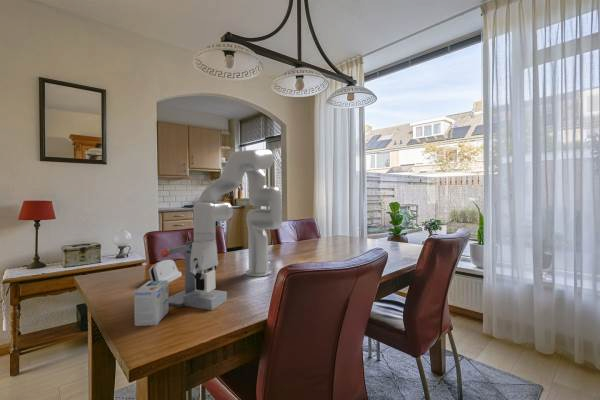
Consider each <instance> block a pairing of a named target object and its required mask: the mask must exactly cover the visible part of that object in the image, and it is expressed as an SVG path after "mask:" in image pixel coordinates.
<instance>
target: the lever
mask: <svg viewBox="0 0 600 400" xmlns="http://www.w3.org/2000/svg"><path fill="white" fill-rule="evenodd" d="M192 243H193V242H192ZM192 243H191V244H186V243H185V244H183V245H179V246H175V247H171V248H166V247H165V248H162V249H160V251H159V256H160V257H162V258H167V257H169V256H171V255H174V254H175V255H176V254H178V253H182V252H183V253H184V252H186V250H190V249H191V248H192Z"/></svg>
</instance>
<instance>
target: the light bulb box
mask: <svg viewBox="0 0 600 400" xmlns="http://www.w3.org/2000/svg"><path fill="white" fill-rule="evenodd" d="M133 296H134V298H133V299H134V300H133V301H134V302H133V303H134V309H133V310H134V326H135V327H138V326H139V327H141V326H147V327H148V325H149V326H157V325H158V324H159V323H160V322H161V321H162V319H163V318H164V317H165V316H166V315H167V314H168V313H169V306H170V305H168V297H169V283H168V280H162V281H151V280H148V281H146V282H145V283H144V284H143V285H141V286H140V287H139V288H137V289H136V290H134V292H133Z"/></svg>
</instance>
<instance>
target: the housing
mask: <svg viewBox="0 0 600 400" xmlns="http://www.w3.org/2000/svg"><path fill="white" fill-rule="evenodd" d="M200 273H201V272H199V274H200ZM203 279H204V290H203V291H202V290H196V279H195V291H199V292H206V293H207V292H209V291H211V290H216V287H217V286H216V270H207V269H206V270H204V275H203Z"/></svg>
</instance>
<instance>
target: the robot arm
mask: <svg viewBox="0 0 600 400" xmlns="http://www.w3.org/2000/svg"><path fill="white" fill-rule="evenodd" d="M274 162H275V158H274V154H273V151H272V150H270V149H265V148H264V149H248V150H237V151H234V152H232V153H231V154H230V155H229V156H228V159H227V161H226V163H225V166H224V168H223V170H222V172H221V174H220V176H219V177H218V178H217V179H216V180H214V181H213V182H211V184H209V185H208V186H207V187H206V188H205V189H204V190H203V191H202V193H201V194H200V196H199V198H198V200H197V202H196V203H195V204H193V241H192V248H191V258H190V268H191V270H190V273H191V274H192V275H193V276H194V278H195V279H196V290H202V291H203V290H204V279H203V275H204V270H206V269H207V270H215V271H216V270H217V267H218V266H219V263H220V261H219V260H218V259H219V258H218V246H217V237H216V236H217V233H216V232H217V231H216V230H217V229H216V222H226V221H229V220H230V219H232V217H233V214H234V207H233V206H232V204H231V203H229V202H227V201H220V200H219V201H216V200H217V199H218V198H220V197H221V196H223V195H226V194H228V193H231V192H233V191H235V190H236V189H237V190H238V188H240V186H241V183H242V180H243V178H244V176H245V174H246V175H247V182H248V184H247V185H248V202H249V204H250V205H251V206H254V207H269V209H268V208H254V209H253V208H252V209H251V210H249V211H248V212H247V213H246V216H245V220H246V226H247V234H248V235H247V236H248V269H246V270H245V275H246V276H248V277H256V278H257V277H266V276H268V275H271V274H272V269H270V268H269V266H271V265H272V264H271V261H269V236H268V234H267V232H266V230H278V229H279V228H280V227H282V222H283V203H282V202H283V199H282V198H283V197H282V192H281V190H280V189H279V188H278V187H277V186H268V185H267V178H266V174H265V172H264V170H268V169H270V168H271V167H272V166H273V164H274ZM199 272H201V273H200V274H199Z"/></svg>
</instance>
